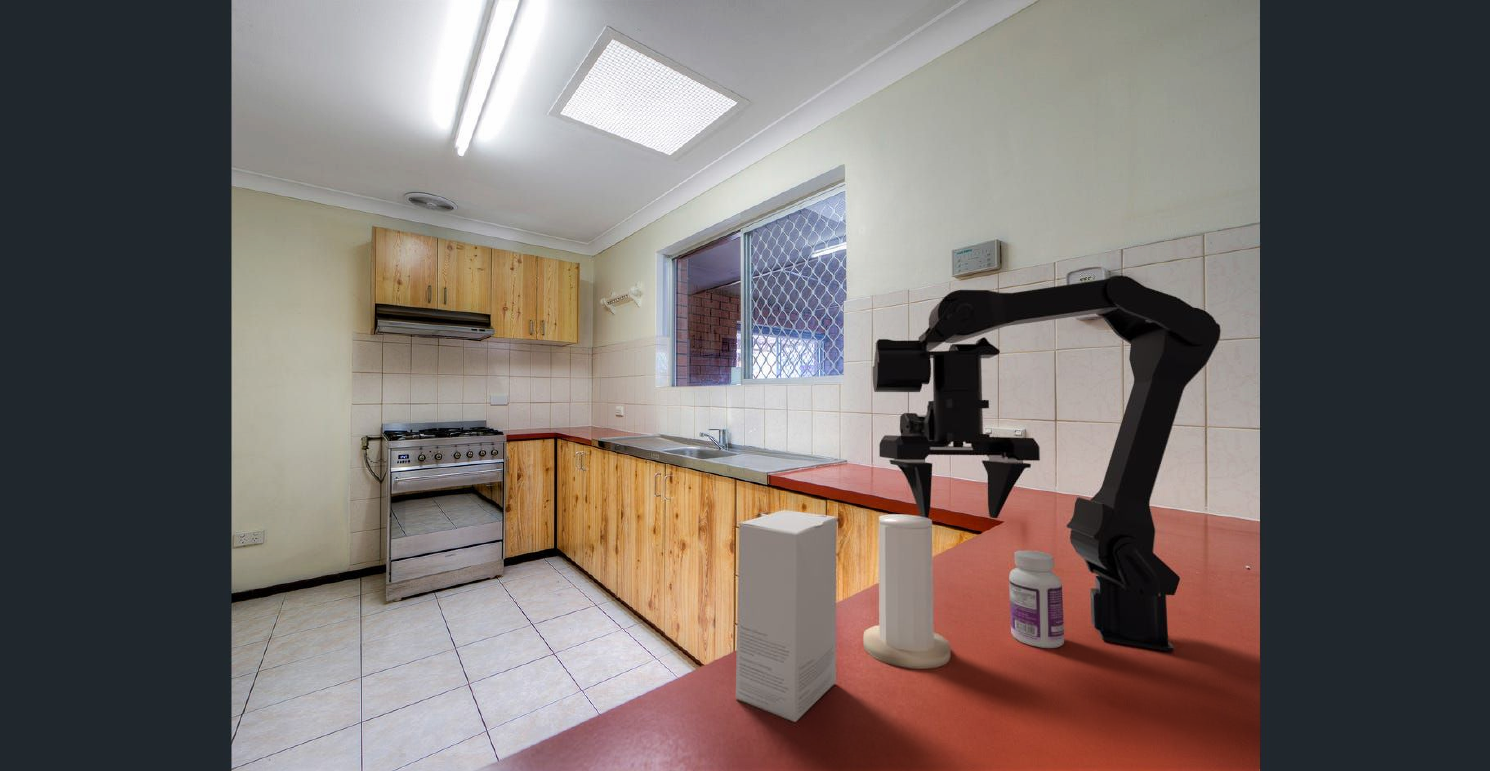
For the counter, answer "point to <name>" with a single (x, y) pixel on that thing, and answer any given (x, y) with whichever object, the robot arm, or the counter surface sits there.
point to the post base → (907, 652)
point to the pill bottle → (1036, 600)
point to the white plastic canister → (906, 582)
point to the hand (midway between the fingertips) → (959, 518)
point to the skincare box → (786, 611)
